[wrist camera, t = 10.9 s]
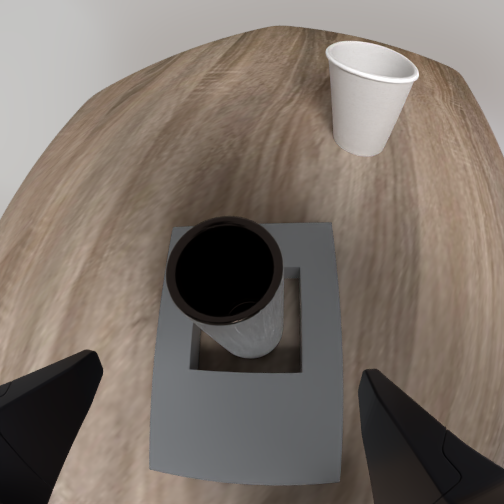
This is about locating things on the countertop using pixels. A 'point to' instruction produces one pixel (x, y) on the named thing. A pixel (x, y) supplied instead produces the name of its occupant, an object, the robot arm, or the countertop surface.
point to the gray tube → (230, 283)
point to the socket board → (255, 386)
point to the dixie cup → (367, 94)
